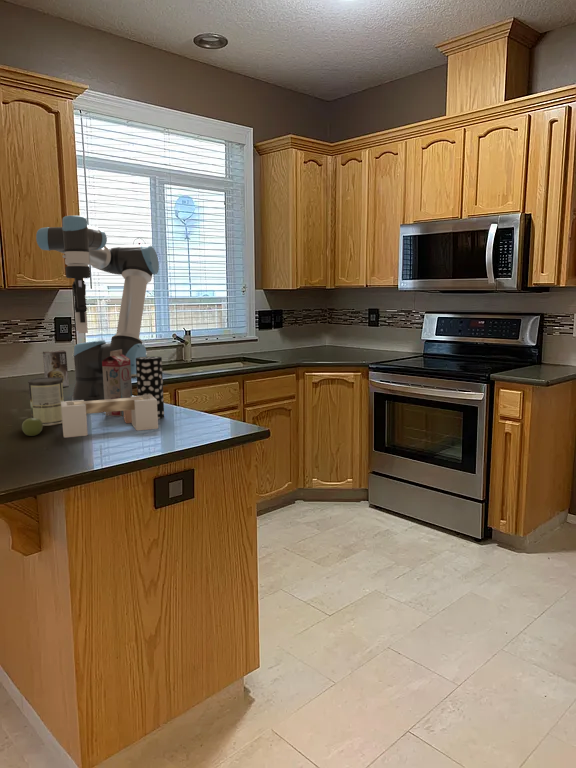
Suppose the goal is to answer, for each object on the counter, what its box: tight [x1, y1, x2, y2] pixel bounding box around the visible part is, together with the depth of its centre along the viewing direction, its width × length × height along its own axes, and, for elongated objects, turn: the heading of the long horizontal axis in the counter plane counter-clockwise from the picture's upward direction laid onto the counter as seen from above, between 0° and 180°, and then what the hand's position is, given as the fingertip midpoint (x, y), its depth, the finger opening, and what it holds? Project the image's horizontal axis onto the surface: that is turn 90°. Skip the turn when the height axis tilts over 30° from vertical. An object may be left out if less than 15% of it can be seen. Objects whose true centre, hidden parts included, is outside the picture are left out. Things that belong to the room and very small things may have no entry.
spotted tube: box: [136, 355, 165, 420], centre depth 194 cm, size 8×8×20 cm
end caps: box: [61, 395, 159, 438], centre depth 177 cm, size 27×10×9 cm, turn 113°
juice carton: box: [102, 350, 133, 417], centre depth 200 cm, size 7×7×22 cm
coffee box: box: [42, 349, 70, 388], centre depth 263 cm, size 9×6×16 cm
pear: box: [21, 417, 44, 437], centre depth 174 cm, size 6×5×10 cm
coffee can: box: [27, 377, 65, 427], centre depth 188 cm, size 10×10×14 cm
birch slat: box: [73, 397, 144, 415], centre depth 177 cm, size 20×4×3 cm, turn 113°
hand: (81, 332), depth 191 cm, fingers open, 13 cm apart
